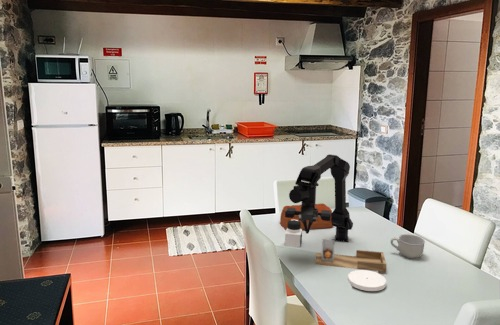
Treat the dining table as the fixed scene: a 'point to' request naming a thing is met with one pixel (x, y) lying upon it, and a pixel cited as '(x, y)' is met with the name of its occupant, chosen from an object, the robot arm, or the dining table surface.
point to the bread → (315, 225)
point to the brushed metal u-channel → (328, 246)
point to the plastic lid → (367, 280)
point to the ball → (327, 254)
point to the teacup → (409, 245)
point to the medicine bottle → (293, 234)
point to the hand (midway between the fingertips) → (307, 233)
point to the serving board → (357, 261)
